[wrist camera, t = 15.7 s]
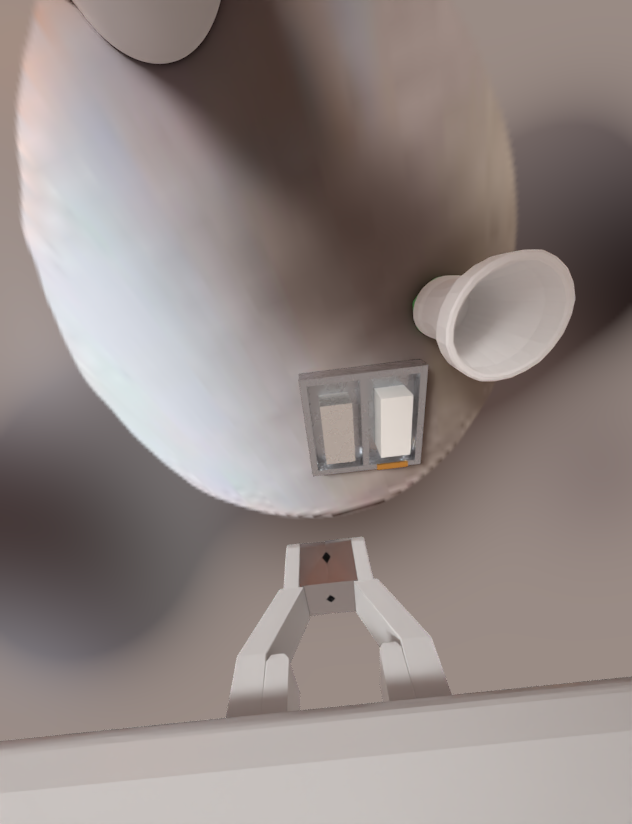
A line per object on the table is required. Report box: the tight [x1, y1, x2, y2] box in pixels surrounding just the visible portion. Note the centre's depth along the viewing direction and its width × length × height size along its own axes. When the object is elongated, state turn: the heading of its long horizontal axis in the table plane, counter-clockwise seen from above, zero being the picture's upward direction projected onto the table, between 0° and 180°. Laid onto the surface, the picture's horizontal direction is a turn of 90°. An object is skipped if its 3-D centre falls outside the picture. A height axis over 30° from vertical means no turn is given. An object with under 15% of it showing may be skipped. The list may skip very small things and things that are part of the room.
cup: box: [413, 250, 575, 381], centre depth 30 cm, size 11×11×14 cm
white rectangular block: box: [374, 385, 413, 458], centre depth 41 cm, size 10×4×4 cm, turn 7°
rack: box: [299, 359, 428, 476], centre depth 41 cm, size 17×18×5 cm
